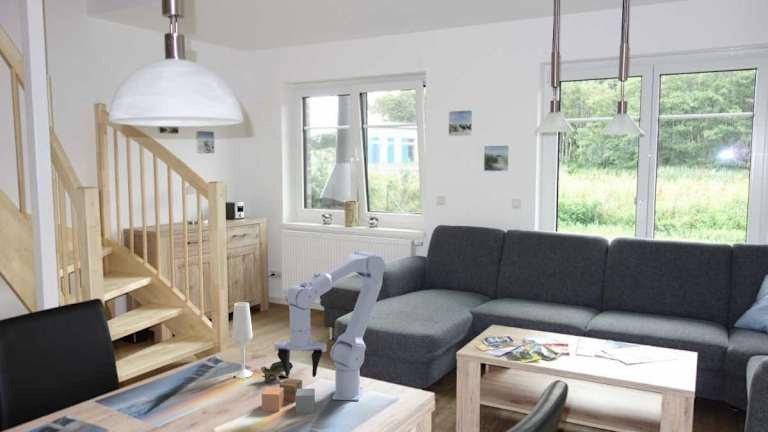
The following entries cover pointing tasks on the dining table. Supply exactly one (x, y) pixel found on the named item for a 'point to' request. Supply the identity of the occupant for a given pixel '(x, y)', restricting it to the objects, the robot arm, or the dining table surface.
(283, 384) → the walnut block
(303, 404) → the slate grey block
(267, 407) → the terracotta block
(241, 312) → the champagne flute
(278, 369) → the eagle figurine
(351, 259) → the robot arm
